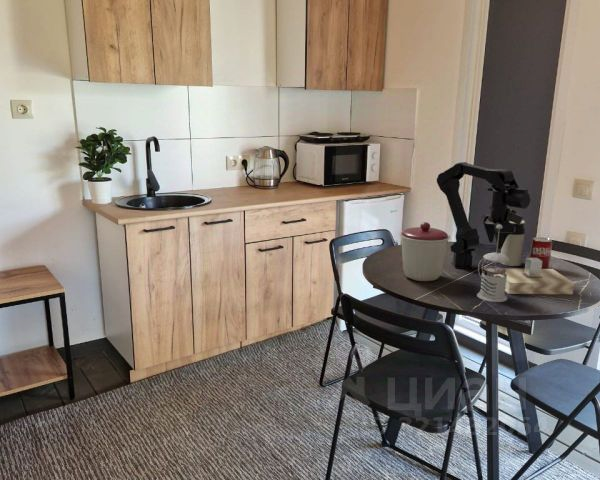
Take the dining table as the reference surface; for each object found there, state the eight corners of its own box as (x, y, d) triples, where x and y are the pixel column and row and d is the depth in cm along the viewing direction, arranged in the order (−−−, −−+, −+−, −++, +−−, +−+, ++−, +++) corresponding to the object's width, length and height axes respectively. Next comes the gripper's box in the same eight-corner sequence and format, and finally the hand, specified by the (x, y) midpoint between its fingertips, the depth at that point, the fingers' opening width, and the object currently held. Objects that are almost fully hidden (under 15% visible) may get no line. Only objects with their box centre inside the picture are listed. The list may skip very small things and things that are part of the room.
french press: (491, 303, 168) (499, 229, 162) (466, 292, 178) (473, 221, 172) (514, 299, 172) (522, 226, 166) (488, 288, 182) (496, 219, 176)
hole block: (508, 293, 177) (509, 282, 176) (492, 278, 192) (493, 268, 191) (572, 294, 177) (574, 283, 176) (551, 279, 192) (552, 268, 191)
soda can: (550, 271, 201) (554, 242, 198) (530, 270, 202) (534, 241, 199) (546, 266, 208) (549, 237, 205) (526, 265, 209) (530, 236, 206)
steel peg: (527, 288, 183) (530, 261, 180) (522, 284, 187) (526, 257, 184) (538, 288, 183) (542, 261, 180) (533, 284, 187) (537, 257, 184)
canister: (455, 276, 194) (459, 222, 189) (431, 288, 181) (436, 230, 176) (412, 266, 206) (416, 215, 201) (388, 277, 193) (390, 222, 188)
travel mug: (524, 264, 210) (529, 221, 205) (512, 267, 205) (518, 223, 201) (507, 259, 216) (512, 217, 212) (495, 263, 212) (500, 220, 207)
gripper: (532, 209, 179) (527, 252, 183) (511, 199, 197) (507, 239, 201) (500, 209, 179) (495, 252, 183) (482, 199, 197) (478, 239, 201)
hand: (495, 245), depth 192 cm, fingers open, 9 cm apart
